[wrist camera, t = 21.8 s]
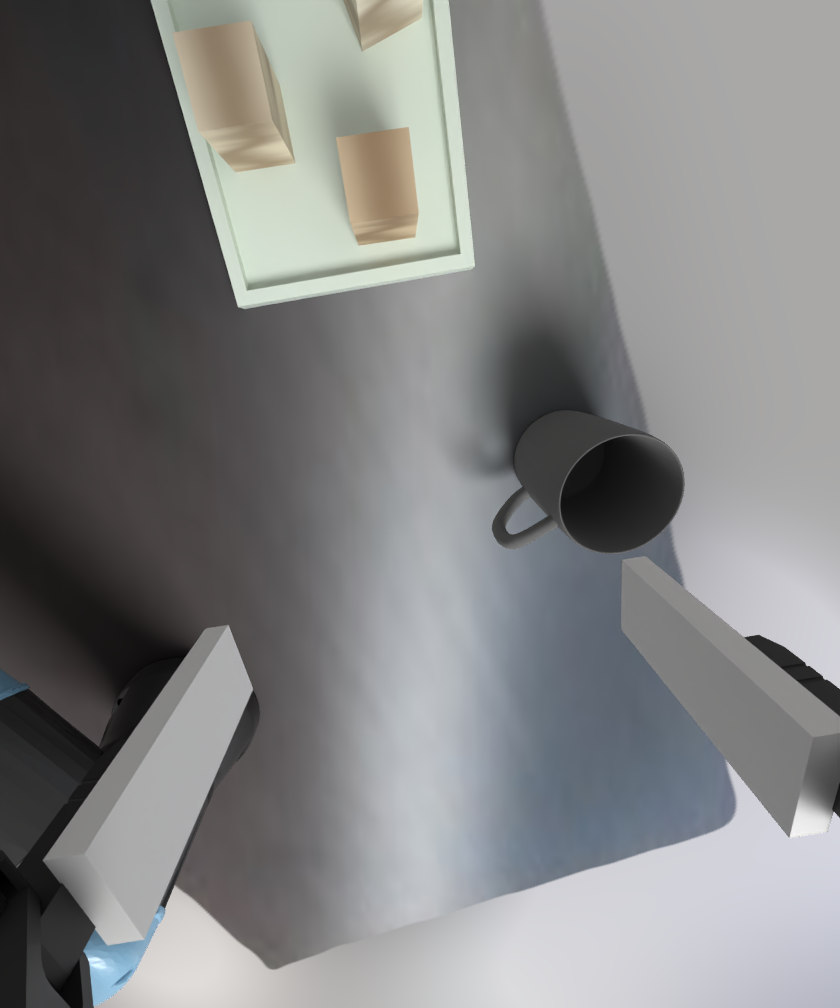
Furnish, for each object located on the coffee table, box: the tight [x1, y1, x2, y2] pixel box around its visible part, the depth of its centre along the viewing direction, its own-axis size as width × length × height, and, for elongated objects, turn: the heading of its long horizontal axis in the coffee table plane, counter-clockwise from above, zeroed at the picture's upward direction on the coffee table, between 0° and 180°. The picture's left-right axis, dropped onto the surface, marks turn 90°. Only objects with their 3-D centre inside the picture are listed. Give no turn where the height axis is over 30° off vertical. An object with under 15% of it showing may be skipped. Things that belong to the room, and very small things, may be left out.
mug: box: [492, 410, 685, 554], centre depth 35 cm, size 14×9×12 cm
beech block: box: [173, 20, 296, 172], centre depth 27 cm, size 4×4×6 cm
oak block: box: [336, 127, 419, 246], centre depth 29 cm, size 4×4×6 cm
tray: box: [151, 0, 475, 309], centre depth 30 cm, size 19×21×2 cm
